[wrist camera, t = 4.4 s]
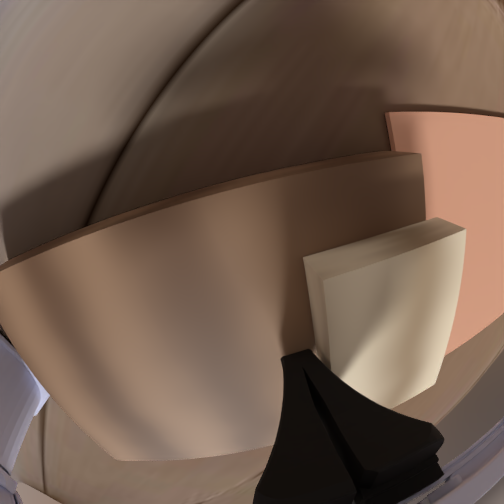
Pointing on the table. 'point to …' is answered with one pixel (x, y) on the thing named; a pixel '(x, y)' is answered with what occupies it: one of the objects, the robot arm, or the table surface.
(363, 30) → the table surface
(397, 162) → the walnut board
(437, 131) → the terracotta mat
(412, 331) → the birch tile
